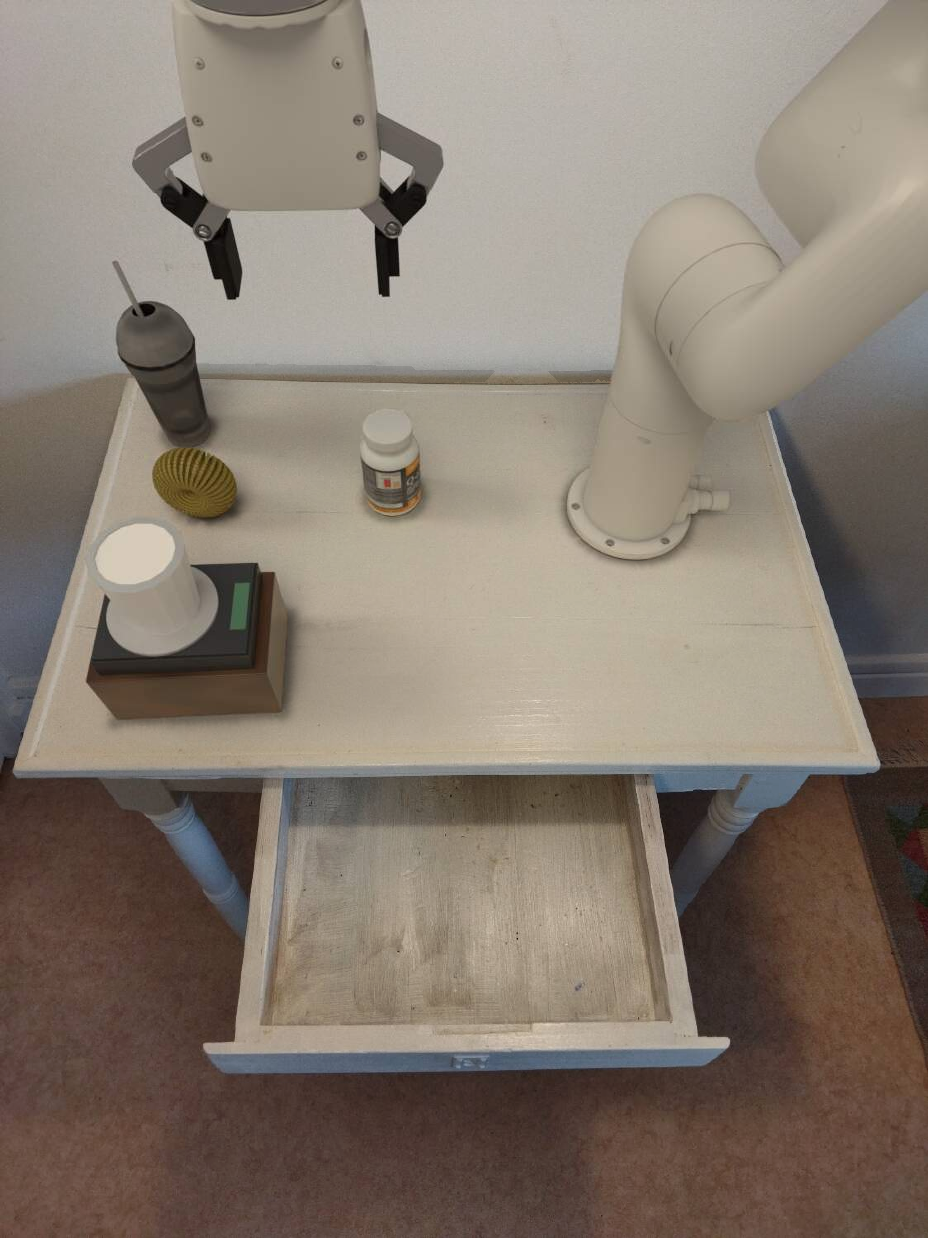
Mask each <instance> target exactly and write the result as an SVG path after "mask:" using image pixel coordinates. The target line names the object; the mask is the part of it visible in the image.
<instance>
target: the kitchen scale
mask: <svg viewBox="0 0 928 1238" xmlns="http://www.w3.org/2000/svg"><path fill="white" fill-rule="evenodd" d="M190 566H191V570H192V573H193V577H194V580H195V584H196V587H197V590H198V594H199V598H200V605H199V609H198V613H197V614H196V616H195V617H194V618H193V620H192V621H191V623H190V624H188V625H187V626H185V627H184V628H182V629H181V630H180V631H178V632H175V633H172V634H168V635H165V636H149V635H146V634H144V633H141V632H139V631H137V630H136V629H135V628H134V627H133V625H132V624H131V623H130V622H129V621H128V620H127V619H126V618H125V616H124V615H123V614H122V613H121V612H120V611H119V609H118V608H117V607H116V606H115V605H114V604H113V602H112V601H111V600H110V599H109V598H108V597H107V596H106V594H105V593H104V595H105V597H104V596H103V599H104V601H103V600H102V604H103V606H102V605H101V608H102V611H101V610H100V613H101V615H100V614H99V618H100V620H99V619H98V622H99V625H98V624H97V627H98V629H97V628H96V632H97V634H96V633H95V636H96V639H95V638H94V641H95V643H94V642H93V645H94V648H93V647H92V650H93V652H92V651H91V655H92V657H91V656H90V659H91V662H90V661H89V664H91V665H92V666H93V668H94V669H95V670H96V671H97V673H98V674H99V675H120V674H143V673H167V672H191V671H214V670H238V669H254V666H255V654H256V643H257V632H258V621H259V609H260V598H261V587H262V574H261V572H262V570H261V568H260V565H259V563H258V562H232V563H231V562H229V563H204V564H203V563H202V564H190Z"/></svg>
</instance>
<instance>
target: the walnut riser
mask: <svg viewBox="0 0 928 1238" xmlns="http://www.w3.org/2000/svg"><path fill="white" fill-rule="evenodd" d="M261 574H262V587H261V598H260V609H259V621H258V632H257V643H256V654H255V666H254V669H238V670H214V671H191V672H167V673H143V674H120V675H99V674H98V673H97V671H96V670H95V669H94V668H93V666H92V665H91V664H90V662H91V657H92V654H91V655H90V660H89V664H88V669H87V674H86V677H85V683H86V684H87V685H88V686H89V688H90V689H91V690H92V692H93V693H94V694H95V695H96V696H97V698H98V699H99V700H100V701H101V702H102V704H103V705H104V707H106V709H107V710H108V711H109V712H110V713H111V714H112V716H113V717H114V718H115V719H116V720H130V719H131V720H135V719H136V720H137V719H155V718H159V719H160V718H179V717H197V716H198V717H201V716H202V717H203V716H221V715H223V716H225V715H243V714H264V713H266V714H268V713H282V711H283V709H282V708H283V697H284V696H283V695H284V683H285V682H284V681H285V679H284V678H285V663H286V649H287V635H288V619H289V614H288V611H287V607H286V605H285V602H284V601H285V600H284V597H283V594H282V591H281V588H280V583H279V582H278V578H277V575H276V572H275V571H261ZM104 597H105V594H103V599H102V602H103V601H104ZM102 606H103V603H102V605H101V609H100V614H99V616H100V615H101V611H102ZM99 620H100V617H99V618H98V623H97V628H96V630H97V629H98V625H99ZM96 634H97V631H96V632H95V636H94V641H93V645H92V651H91V653H92V652H93V648H94V643H95V639H96Z"/></svg>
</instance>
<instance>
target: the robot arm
mask: <svg viewBox="0 0 928 1238" xmlns="http://www.w3.org/2000/svg"><path fill="white" fill-rule="evenodd" d="M171 18H172V31H173V40H174V51H175V58H176V66H177V73H178V80H179V86H180V93H181V99H182V104H183V105H182V106H183V111H184V117H182V118H181V119H179V120H177V121H176V122H174V123H173V124H171V125H169V126H168V127H166V128H165V129H163V130H162V131H160V132H158V133H156V134H155V135H154V136H152V137H150V138H149V139H148V140H146V141H145V142H143V143H141V144H140V145H138V146H137V147H136V148H135V150H134V154H133V159H132V161H131V165H132V168H133V171H134V172H135V173H136V174H137V175H138V176H139V177H140V178H141V180H142V181H143V183H145V185H146V186H147V187H148V188H149V189H150V190H151V191H152V193H153V194H156V196H157V197H158V198H159V199H160V200H159V201H160V203H161V206H162V207H163V208H164V209H165V210H166V211H168V212H169V213H170V214H172V215H173V216H175V217H176V218H177V219H179V220H180V221H181V222H183V223H184V224H186V225H187V226H188V227H190V228H191V229H192V232H193V233H192V234H193V235H194V236H195V238H196V239H198V240H200V241H201V242H203V245H204V249H205V252H206V257H207V259H208V263H209V267H210V271H211V274H212V277H213V279H214V281H221V282H222V286H223V289H224V293H225V297H226V299H227V301H236V300H237V298H240V294H241V286H242V279H243V267H242V262H241V257H240V254H239V249H238V245H237V241H236V236H235V233H234V228H233V224H232V221H231V217H228V216H229V213H231V211H235V212H310V211H311V212H312V211H313V212H315V211H317V212H318V211H319V212H320V211H348V210H349V211H350V210H357V209H359V210H360V211H361V212H362V214H364V216H366V218H367V219H368V220H370V222H371V223H372V224H373V225H374V250H375V251H374V252H375V265H376V266H375V267H376V277H377V290H378V295H379V296H381V298H390V297H391V290H390V289H391V287H390V283H391V281H390V278H393V277H397V278H398V277H401V270H400V269H401V268H400V248H399V237H400V236H401V235H402V233H403V228H404V227H405V226H407V224H408V223H409V222H410V221H411V220H412V218H414V217H415V216H416V215H417V214H418V213H419V212H420V211H421V210H422V209H423V208H424V206H426V203H427V201H428V199H427V198H428V196H429V194H430V192H431V191H432V190H433V187H434V186H435V184H436V182H437V180H438V178H439V176H440V174H441V172H442V170H443V168H444V165H445V162H444V152H443V148H442V146H441V145H440V144H438V143H437V142H435V141H433V140H431V139H430V138H427V137H426V136H423V135H421V134H420V133H418V132H416V131H414V130H412V129H410V128H409V127H407V126H405V125H402V124H401V123H399V122H397V121H395V120H393V119H391V118H389V117H387V116H386V115H385V114H382V113H380V112H379V109H378V101H377V92H376V83H375V76H374V75H375V73H374V66H373V65H374V64H373V57H372V50H371V45H370V44H371V43H370V38H369V34H368V33H369V32H368V28H367V23H366V18H365V13H364V9H363V4H362V1H361V0H171ZM382 152H384V153H386V154H388V155H390V156H392V157H394V158H396V159H398V160H400V161H402V162H404V163H406V164H408V165H410V167H412V169H411V173H410V174H409V175H408V176H407V178H405V180H404V181H403V182H402V183H401V184H400V185H399V186H398V187H397V188H396V189H395V190H393V189H392V188H391V187H390V186H389V185H388V184H387V182H386V181H385V180H384V179H383V178H382V177H381V162H382ZM189 154H191V155H192V159H193V163H194V167H195V171H196V175H197V179H198V183H199V186H200V188H201V191H202V194H201V193H199V192H198V191H196V190H195V189H194V188H192V186H190V185H189V184H187V183H186V182H185V181H183V180H182V179H181V178H180V177H177V176H176V175H175V174H174V171H173V170H172V169H171V167H170V166H172V165H173V164H175V163H177V162H178V161H180V160H181V159H183V158H185V157H186V156H188V155H189ZM754 158H755V159H754V174H755V177H756V178H755V179H756V181H757V186H758V187H759V190H760V191H761V193H762V195H763V197H764V198H765V200H766V202H767V204H768V205H769V206H770V208H771V209H772V211H773V212H774V213H775V215H776V216H777V218H778V219H779V220H780V222H781V223H782V224H783V225H784V227H785V228H786V229H787V231H788V232H789V234H791V236H792V237H793V239H794V240H795V241H796V242H797V243H798V245H799V246H800V247H801V250H800V252H799V253H798V254H797V255H796V256H795V257H794V258H792V260H791V261H790V262H789V263H788V264H786V265H785V264H784V263H783V261H782V258H781V257H780V255H779V254H778V253H777V251H776V249H774V247H773V246H772V245H771V243H770V242H769V240H767V238H766V237H765V236H764V233H762V231H760V229H759V227H758V226H757V225H756V224H755V223H754V222H753V220H751V218H750V217H749V215H748V214H747V213H745V211H743V210H742V209H741V208H740V207H739V206H737V205H736V204H735V203H733V202H731V201H730V200H728V199H726V198H723V197H722V196H719V195H715V194H711V193H701V192H700V193H690V194H685V195H682V196H679V197H676V198H674V199H672V200H671V201H669V202H667V203H665V204H663V205H662V206H661V207H659V208H658V209H657V210H656V211H655V212H654V213H653V214H652V215H650V217H649V218H648V219H647V220H646V221H645V223H644V224H643V225H642V227H641V228H640V230H639V231H638V233H637V234H636V236H635V238H634V241H633V242H632V245H631V247H630V250H629V252H628V256H627V259H626V263H625V269H624V272H623V273H624V274H623V281H622V290H621V291H622V292H621V307H620V308H621V310H620V325H619V335H618V344H617V349H616V354H615V360H614V364H613V368H612V373H611V377H610V381H609V386H608V390H607V394H606V398H605V402H604V403H605V404H604V406H603V411H602V415H601V420H600V422H599V423H600V424H599V428H598V432H597V437H596V440H595V445H594V450H593V454H592V458H591V462H590V466H589V467H587V468H585V469H584V470H582V472H580V473H579V474H578V475H577V476H576V478H575V479H573V481H572V482H571V485H570V487H569V490H568V494H567V500H566V506H565V507H566V515H567V517H568V520H569V523H570V525H571V527H572V529H573V530H574V532H575V533H576V534H577V535H578V536H579V538H581V539H582V540H583V542H585V543H586V544H587V545H589V546H590V547H591V548H593V549H595V550H597V551H598V552H600V553H603V554H605V555H608V556H611V557H613V558H619V559H623V560H635V561H636V560H637V561H639V560H647V559H653V558H657V557H660V556H663V555H666V554H667V553H668V552H670V551H672V550H673V549H674V548H676V547H677V546H678V545H679V544H680V543H681V542H682V541H683V539H684V538H685V536H686V534H687V531H688V529H689V527H690V523H691V520H692V514H693V515H694V514H697V513H698V511H699V510H704V511H705V510H707V511H727V510H728V509H729V508H730V504H731V496H730V492H729V491H728V490H708V491H698V489H699V490H701V489H703V490H704V489H710V488H711V487H712V477H711V474H697V475H693V474H694V472H695V470H696V468H697V465H698V462H699V461H700V460H699V459H700V457H701V455H702V452H703V449H704V447H705V444H706V442H707V439H708V437H709V434H710V432H711V429H712V427H713V424H714V422H715V419H717V420H720V421H725V422H738V421H744V420H748V419H752V418H754V417H757V416H760V415H762V414H763V415H764V414H765V413H766V412H769V411H771V410H773V409H774V408H777V407H778V406H779V405H782V404H783V403H784V402H786V401H787V400H789V399H790V398H792V397H793V396H795V395H797V394H798V393H799V392H800V391H802V390H803V389H804V388H805V387H807V386H808V385H809V384H811V383H812V382H814V381H815V380H817V378H818V377H820V376H822V374H824V373H826V372H827V371H828V370H829V369H830V368H831V367H833V366H834V365H835V364H837V363H838V362H839V361H841V360H842V359H843V358H845V357H846V356H847V355H848V354H849V353H850V352H852V351H853V350H855V349H856V348H858V346H859V345H861V344H862V343H863V342H865V341H867V339H869V338H870V337H871V336H872V335H874V334H875V333H876V332H877V331H879V330H880V329H881V328H883V327H884V326H886V324H888V323H889V322H891V320H893V319H894V318H896V316H898V315H899V314H901V313H902V312H903V311H904V310H905V309H906V308H908V307H909V306H911V305H912V304H913V303H914V302H915V301H917V300H918V299H919V298H920V297H921V296H923V295H924V294H925V293H926V292H927V291H928V0H888V1H887V2H886V3H885V4H884V5H883V6H882V7H881V8H880V9H878V11H877V12H876V13H875V14H874V15H873V16H872V17H871V18H870V19H869V20H868V21H867V22H866V23H865V24H864V25H863V26H862V27H861V28H860V29H859V31H857V32H856V34H855V35H853V36H852V37H851V39H850V40H849V41H847V43H846V44H845V45H844V46H843V47H842V48H841V49H840V50H838V52H837V53H836V54H835V55H834V56H833V57H832V58H831V59H830V60H829V61H828V62H827V63H826V64H825V65H824V66H823V67H822V68H821V69H820V70H819V72H817V74H815V75H814V77H812V79H810V81H809V82H808V83H807V84H806V85H805V86H804V87H803V88H802V89H801V90H800V91H799V92H798V93H797V94H796V95H795V96H794V97H793V98H792V99H791V101H790V102H789V103H788V104H787V105H786V106H785V107H784V108H783V109H782V110H781V112H779V114H778V115H777V116H776V117H775V119H774V120H773V121H772V122H771V124H770V125H769V127H768V128H767V130H766V131H765V133H764V134H763V136H762V137H761V140H760V141H759V143H758V147H757V150H756V153H755V157H754Z"/></svg>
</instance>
